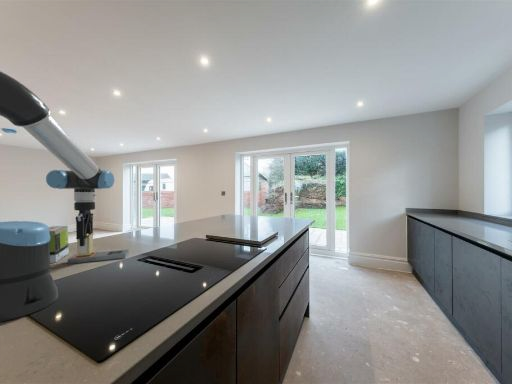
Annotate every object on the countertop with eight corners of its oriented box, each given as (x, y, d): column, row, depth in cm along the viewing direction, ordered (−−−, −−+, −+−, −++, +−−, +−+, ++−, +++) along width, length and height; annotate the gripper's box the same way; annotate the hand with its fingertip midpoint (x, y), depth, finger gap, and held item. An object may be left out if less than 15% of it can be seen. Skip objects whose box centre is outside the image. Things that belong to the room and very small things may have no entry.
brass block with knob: (89, 256, 96) (89, 234, 96) (77, 258, 94) (77, 235, 94) (92, 254, 100) (92, 232, 100) (81, 255, 99) (81, 233, 99)
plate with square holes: (125, 258, 100) (125, 253, 100) (67, 263, 92) (67, 258, 92) (128, 253, 107) (128, 248, 107) (75, 258, 99) (75, 253, 99)
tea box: (43, 256, 103) (42, 226, 103) (69, 253, 107) (69, 225, 107) (25, 266, 89) (25, 232, 89) (56, 263, 93) (55, 230, 93)
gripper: (87, 202, 90) (87, 255, 91) (100, 200, 107) (101, 245, 107) (65, 202, 88) (66, 257, 88) (82, 200, 104) (83, 247, 104)
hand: (85, 251), depth 97 cm, fingers closed on brass block with knob, 4 cm apart
